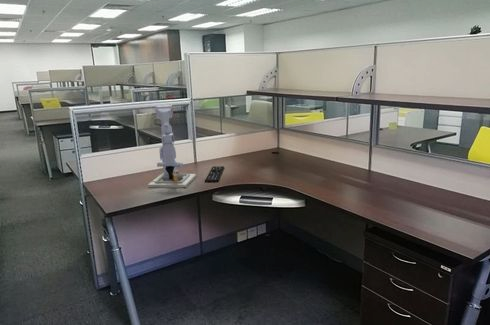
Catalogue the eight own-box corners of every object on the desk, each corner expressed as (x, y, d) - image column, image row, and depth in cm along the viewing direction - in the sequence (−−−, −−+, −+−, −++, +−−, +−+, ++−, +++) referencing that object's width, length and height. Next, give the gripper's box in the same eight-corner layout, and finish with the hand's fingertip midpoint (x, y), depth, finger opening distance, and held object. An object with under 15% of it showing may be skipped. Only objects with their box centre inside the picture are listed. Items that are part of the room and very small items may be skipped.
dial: (161, 177, 214) (160, 169, 213) (181, 174, 218) (180, 166, 217) (165, 184, 199) (164, 176, 198) (186, 182, 203) (186, 173, 202)
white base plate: (161, 176, 223) (161, 172, 223) (196, 176, 220) (195, 172, 220) (147, 187, 202) (147, 183, 201) (185, 187, 199) (185, 183, 198)
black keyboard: (224, 168, 238) (224, 165, 238) (218, 182, 207) (217, 179, 207) (212, 168, 238) (212, 165, 238) (204, 183, 208) (204, 179, 207)
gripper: (153, 157, 197) (156, 180, 200) (179, 157, 194) (180, 181, 197) (159, 154, 203) (161, 177, 207) (183, 154, 201) (185, 177, 204)
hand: (171, 179), depth 202 cm, fingers closed, pressing on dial
